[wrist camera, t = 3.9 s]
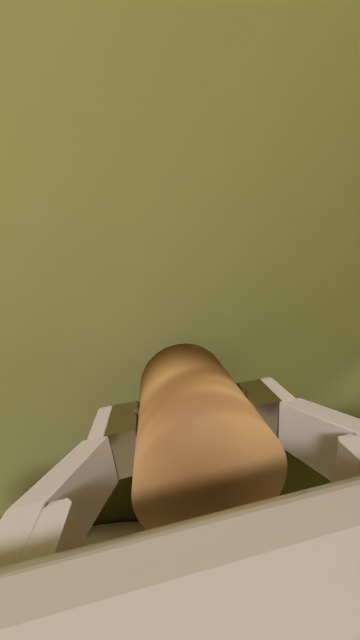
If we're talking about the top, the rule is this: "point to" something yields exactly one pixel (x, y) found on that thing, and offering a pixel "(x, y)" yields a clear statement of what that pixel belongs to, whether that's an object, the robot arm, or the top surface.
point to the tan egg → (199, 441)
